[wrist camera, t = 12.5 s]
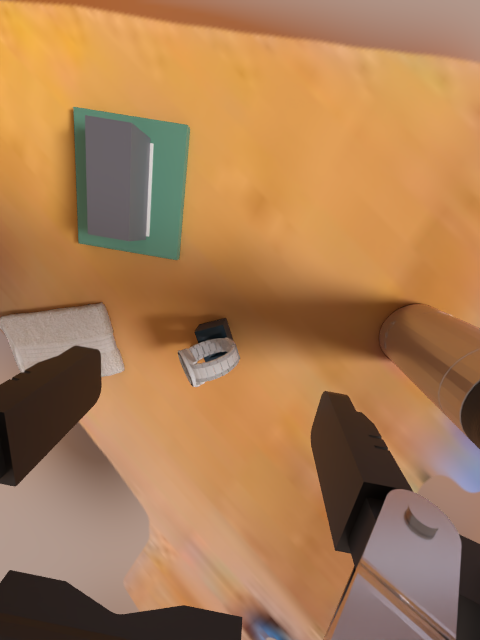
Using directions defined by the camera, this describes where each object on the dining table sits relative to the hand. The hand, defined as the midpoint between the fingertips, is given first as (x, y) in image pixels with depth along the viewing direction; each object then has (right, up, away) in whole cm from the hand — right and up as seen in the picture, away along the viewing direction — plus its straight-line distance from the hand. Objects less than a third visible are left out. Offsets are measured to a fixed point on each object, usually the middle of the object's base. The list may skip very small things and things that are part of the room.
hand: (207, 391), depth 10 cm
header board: (-13, +20, +26) cm, 35 cm away
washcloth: (-27, -1, +35) cm, 44 cm away
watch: (-2, 0, +32) cm, 32 cm away
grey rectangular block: (-13, +20, +25) cm, 34 cm away
